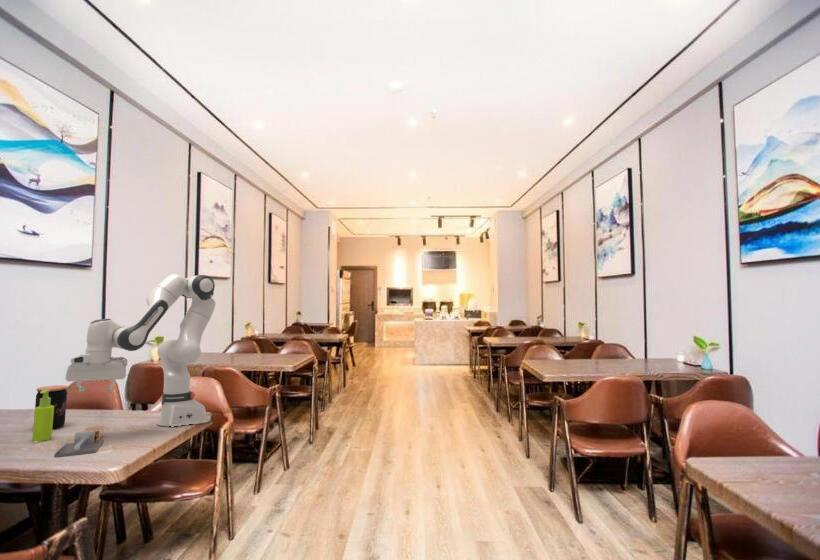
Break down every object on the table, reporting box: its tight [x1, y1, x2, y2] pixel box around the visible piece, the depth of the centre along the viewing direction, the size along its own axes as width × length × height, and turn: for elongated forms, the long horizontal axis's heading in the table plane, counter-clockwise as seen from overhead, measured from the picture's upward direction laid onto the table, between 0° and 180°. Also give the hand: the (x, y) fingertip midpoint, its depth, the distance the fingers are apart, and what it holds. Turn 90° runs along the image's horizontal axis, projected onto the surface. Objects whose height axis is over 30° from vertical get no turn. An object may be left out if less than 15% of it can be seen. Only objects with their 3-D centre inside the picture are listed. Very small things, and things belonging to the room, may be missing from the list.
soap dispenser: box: [32, 390, 54, 442], centre depth 171 cm, size 6×7×20 cm
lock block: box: [82, 425, 105, 441], centre depth 173 cm, size 6×9×4 cm, turn 26°
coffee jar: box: [34, 384, 68, 430], centre depth 188 cm, size 11×11×18 cm
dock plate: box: [53, 430, 104, 458], centre depth 159 cm, size 12×14×5 cm
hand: (95, 391), depth 174 cm, fingers open, 8 cm apart
